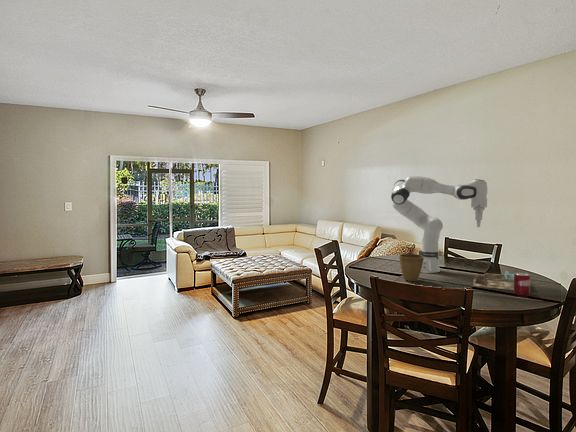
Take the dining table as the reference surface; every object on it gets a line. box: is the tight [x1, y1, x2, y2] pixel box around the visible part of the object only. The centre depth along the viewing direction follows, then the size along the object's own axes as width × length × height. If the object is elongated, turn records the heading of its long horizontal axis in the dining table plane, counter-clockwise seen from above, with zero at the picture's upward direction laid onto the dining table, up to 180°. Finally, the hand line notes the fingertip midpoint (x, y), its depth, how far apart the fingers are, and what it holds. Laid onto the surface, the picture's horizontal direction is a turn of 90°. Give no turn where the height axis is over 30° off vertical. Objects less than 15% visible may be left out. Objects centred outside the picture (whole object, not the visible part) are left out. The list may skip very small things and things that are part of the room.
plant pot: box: [398, 253, 424, 282], centre depth 216 cm, size 15×15×16 cm
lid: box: [503, 270, 515, 281], centre depth 195 cm, size 8×14×3 cm, turn 150°
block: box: [475, 273, 485, 284], centre depth 203 cm, size 4×4×4 cm
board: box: [472, 272, 514, 291], centre depth 199 cm, size 24×17×6 cm
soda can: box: [513, 272, 531, 299], centre depth 181 cm, size 7×7×12 cm
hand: (478, 226), depth 216 cm, fingers open, 8 cm apart
